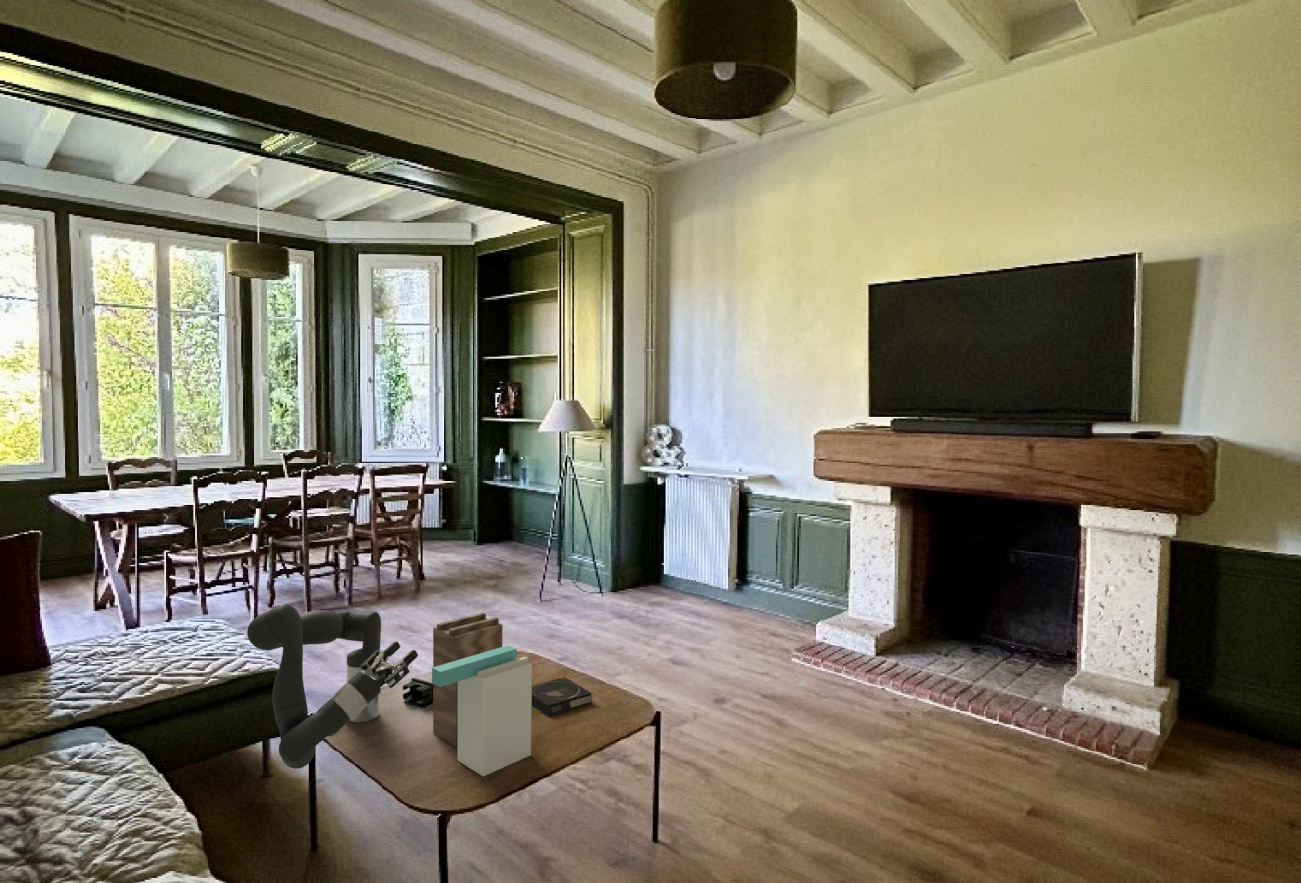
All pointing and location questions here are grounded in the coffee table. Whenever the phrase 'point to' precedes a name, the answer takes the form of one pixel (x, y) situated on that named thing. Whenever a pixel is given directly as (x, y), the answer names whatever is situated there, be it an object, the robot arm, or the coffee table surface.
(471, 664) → the teal bar
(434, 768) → the coffee table surface
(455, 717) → the walnut plinth
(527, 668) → the grey plinth
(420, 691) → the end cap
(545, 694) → the portable cd player
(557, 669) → the coffee table surface
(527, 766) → the coffee table surface
